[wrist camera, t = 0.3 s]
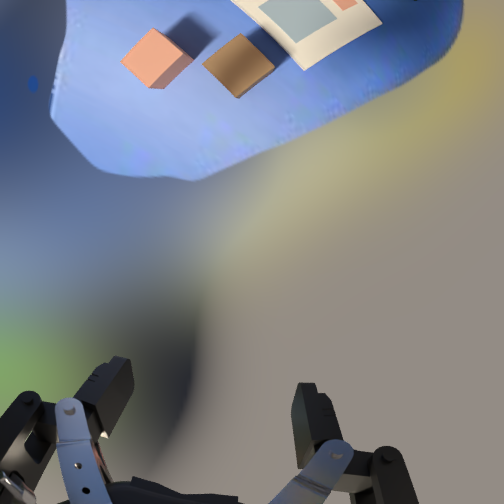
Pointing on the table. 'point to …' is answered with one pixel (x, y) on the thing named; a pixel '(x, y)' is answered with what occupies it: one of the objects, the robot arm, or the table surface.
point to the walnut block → (239, 65)
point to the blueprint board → (311, 24)
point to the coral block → (156, 60)
